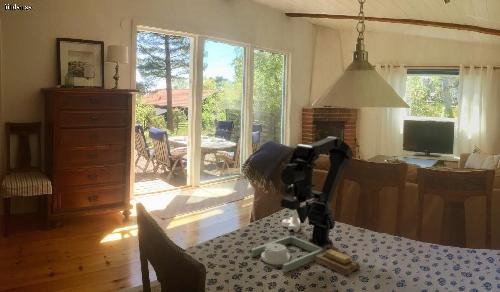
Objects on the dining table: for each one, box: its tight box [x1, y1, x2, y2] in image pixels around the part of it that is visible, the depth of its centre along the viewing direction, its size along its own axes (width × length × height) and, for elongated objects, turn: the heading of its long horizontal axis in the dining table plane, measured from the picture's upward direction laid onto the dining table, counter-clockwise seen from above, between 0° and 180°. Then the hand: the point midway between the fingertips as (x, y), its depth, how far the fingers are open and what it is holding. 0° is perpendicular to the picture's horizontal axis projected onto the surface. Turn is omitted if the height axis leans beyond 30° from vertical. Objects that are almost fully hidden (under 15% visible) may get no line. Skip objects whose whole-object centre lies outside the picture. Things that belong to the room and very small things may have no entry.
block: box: [325, 248, 351, 266], centre depth 134 cm, size 8×3×4 cm, turn 42°
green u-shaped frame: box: [250, 235, 326, 274], centre depth 139 cm, size 20×16×2 cm
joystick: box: [281, 184, 301, 233], centre depth 167 cm, size 11×8×20 cm
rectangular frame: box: [314, 252, 360, 276], centre depth 134 cm, size 7×12×2 cm, turn 42°
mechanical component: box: [260, 243, 291, 266], centre depth 137 cm, size 10×4×10 cm
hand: (302, 222), depth 142 cm, fingers closed
